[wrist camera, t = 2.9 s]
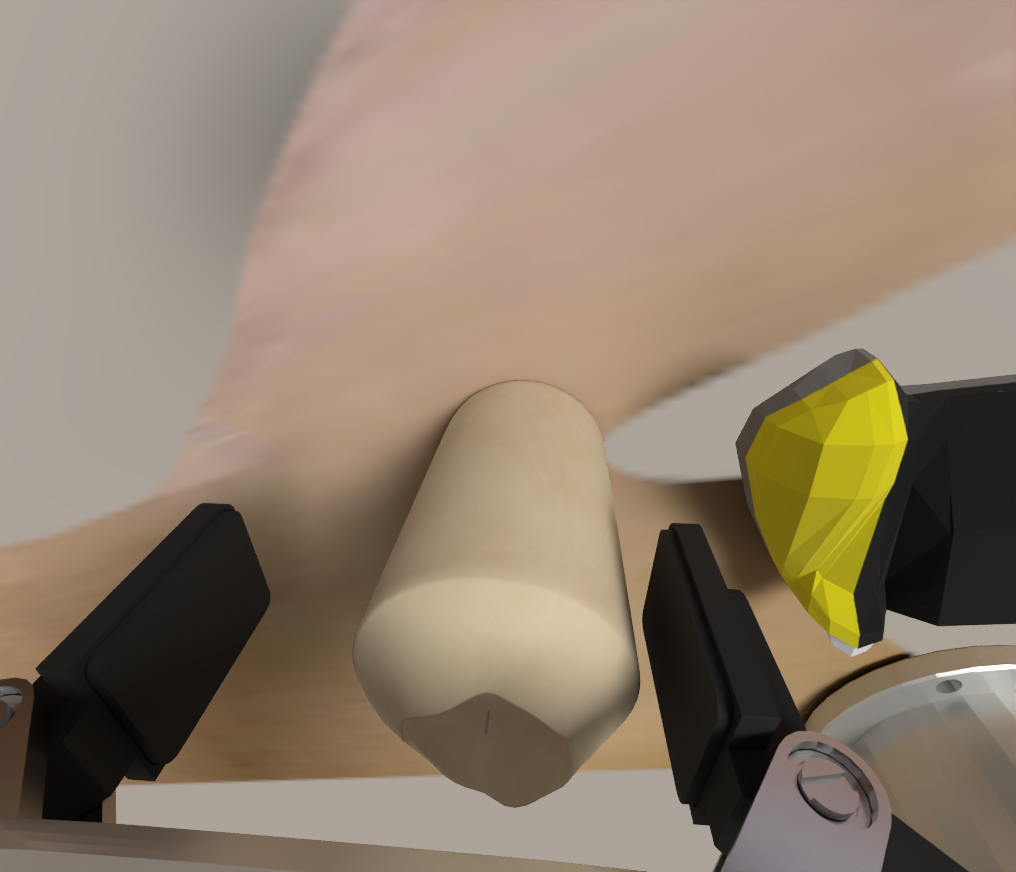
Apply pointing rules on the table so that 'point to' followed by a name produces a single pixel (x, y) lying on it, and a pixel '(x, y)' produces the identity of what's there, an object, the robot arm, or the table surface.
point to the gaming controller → (887, 497)
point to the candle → (506, 601)
